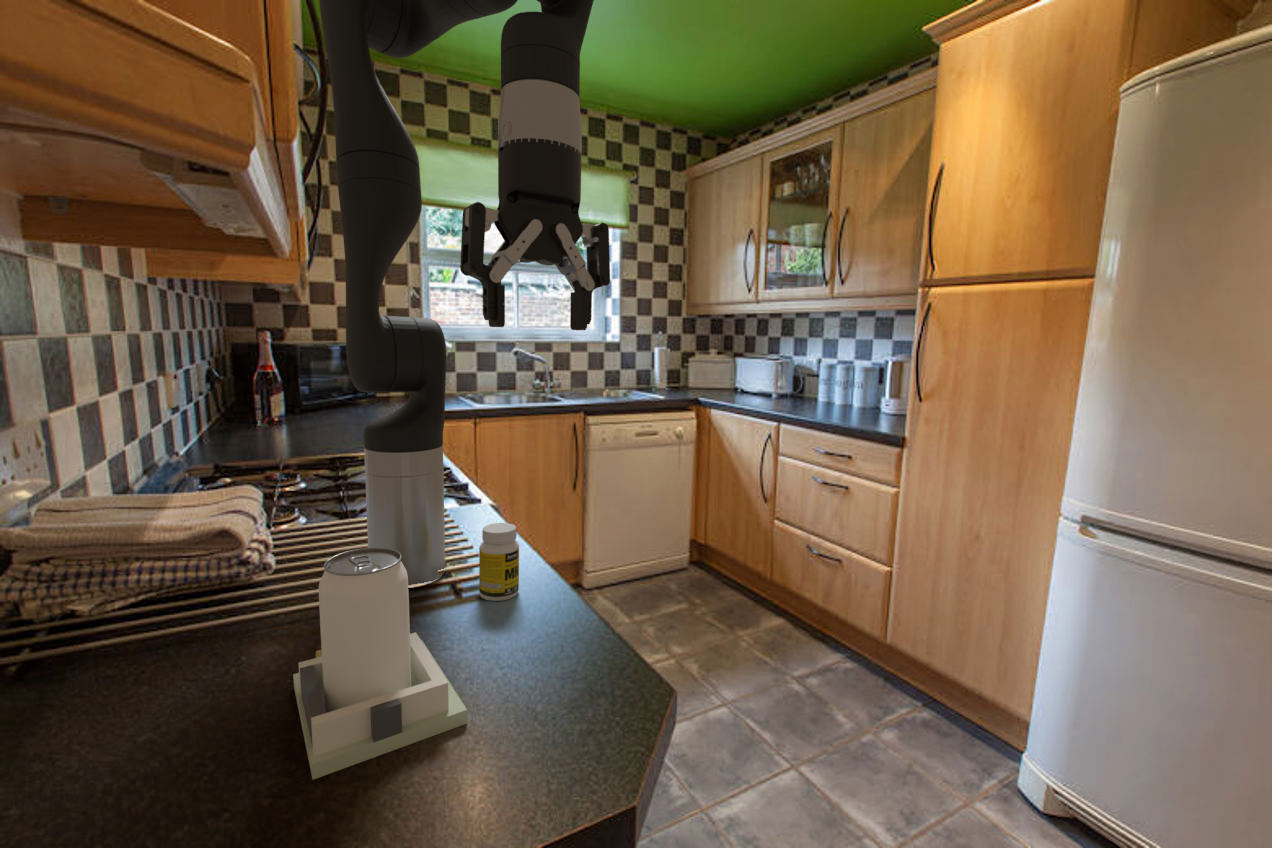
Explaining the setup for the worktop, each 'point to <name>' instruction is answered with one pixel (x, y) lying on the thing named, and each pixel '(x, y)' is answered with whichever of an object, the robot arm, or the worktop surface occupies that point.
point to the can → (364, 626)
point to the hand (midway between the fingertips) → (539, 328)
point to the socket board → (375, 714)
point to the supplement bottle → (499, 562)
